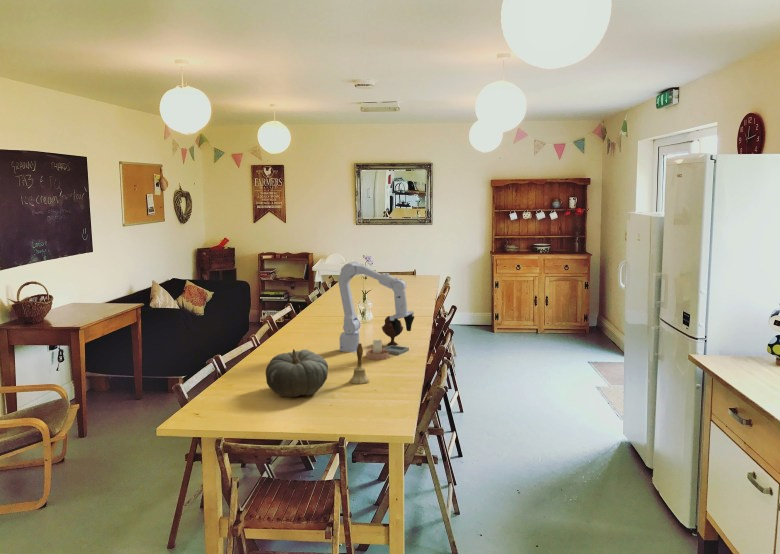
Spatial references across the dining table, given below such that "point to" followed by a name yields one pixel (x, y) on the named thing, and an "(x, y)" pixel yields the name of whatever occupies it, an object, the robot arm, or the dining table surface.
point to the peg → (377, 346)
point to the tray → (396, 349)
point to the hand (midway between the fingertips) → (403, 332)
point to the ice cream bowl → (390, 331)
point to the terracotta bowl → (377, 355)
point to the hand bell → (359, 369)
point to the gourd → (296, 373)
